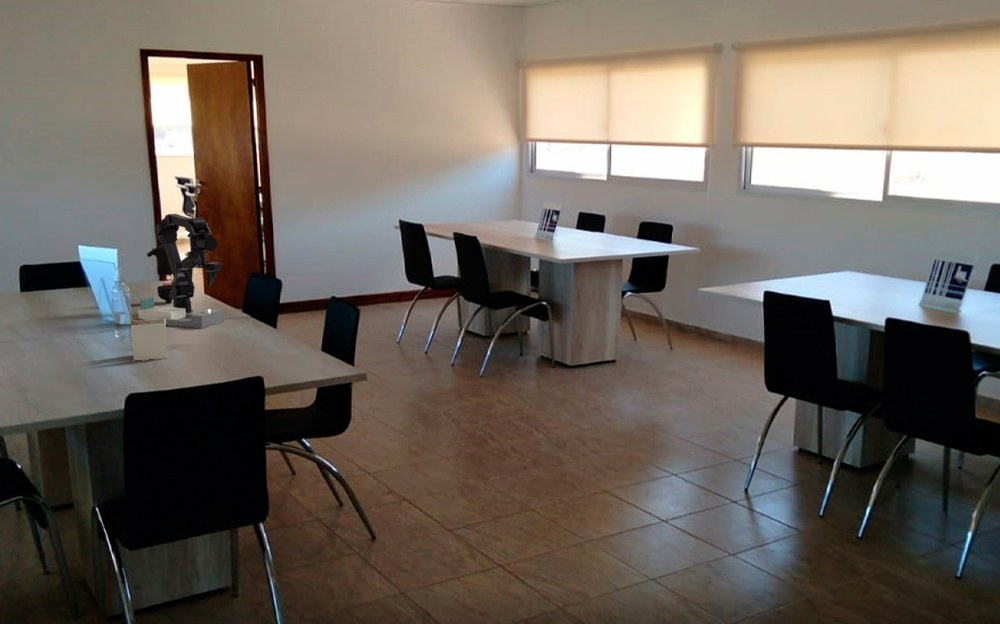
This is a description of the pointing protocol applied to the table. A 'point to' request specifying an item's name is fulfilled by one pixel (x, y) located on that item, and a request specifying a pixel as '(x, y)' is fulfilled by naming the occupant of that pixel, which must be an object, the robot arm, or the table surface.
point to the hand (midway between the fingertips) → (199, 286)
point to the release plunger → (206, 310)
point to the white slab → (159, 311)
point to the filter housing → (197, 319)
